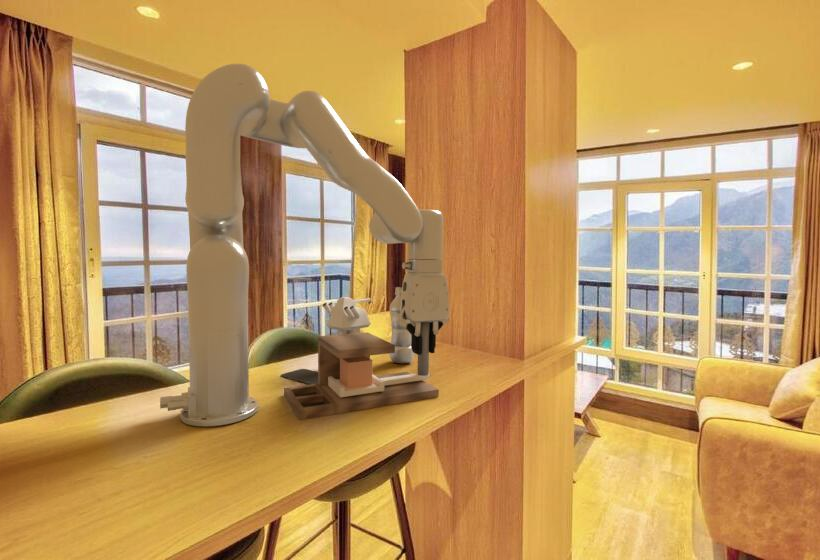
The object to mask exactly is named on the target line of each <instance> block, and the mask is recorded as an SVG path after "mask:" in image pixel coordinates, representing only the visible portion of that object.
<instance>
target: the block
mask: <svg viewBox="0 0 820 560" xmlns="http://www.w3.org/2000/svg"><path fill="white" fill-rule="evenodd" d="M372 374H373V359H371V358H370V359H369V358H368V357H366V356H361V357H351V358H342V359H340V382H341V383H342V384H343V385H345V386H346V387H347V388H355V387H362V386H369V385H372Z"/></svg>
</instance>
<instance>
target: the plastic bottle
mask: <svg viewBox="0 0 820 560" xmlns="http://www.w3.org/2000/svg"><path fill="white" fill-rule="evenodd" d="M394 291H395V292H394V295H395V297H394V299H392V301H391V303H390V305H389V314H390V321H391V335H390V336H391V338H390V343H391V344H394V345H395V353H389V358H390V360H391V362H393V363H396V364H409V363H411V362H412V361H413V359H414V358H415V353H413V351H412V348H411V334H410V333H409V331H408V330H407V329H406V328H404V327H402V326H400V325H398V324H397V320H398V317H399V315H400V303H401V292H402V287H401V286H398V287H397V286H396V287H395V290H394ZM406 322H408V323H410V320H406Z"/></svg>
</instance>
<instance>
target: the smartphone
mask: <svg viewBox="0 0 820 560" xmlns="http://www.w3.org/2000/svg"><path fill="white" fill-rule="evenodd" d="M280 378H283V379H288V380H291V381H294V382H297V383H301V384H303V383H304V384H303V385H306V384H307V385H310V384H318V371H315V370H311V369H307V368H298V369H296V370H295V369H294V370H292V371H288V372H284V373H281V374H280Z"/></svg>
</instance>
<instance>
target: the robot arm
mask: <svg viewBox="0 0 820 560" xmlns="http://www.w3.org/2000/svg"><path fill="white" fill-rule="evenodd" d="M185 115H186V116H185V127H184V130H185V131H184V132H185V134H184V136H185V175H186V176H185V177H186V180H185V181H186V186H185V187H186V190H185V197H184V199H185V200H184V201H185V205H186V208H187V213H188V215H187V216H188V217H187V218H188V234H189V247H190V248H189V249H190V250H189V252H188V255H187V259H186V287H187V309H188V310H187V312H188V313H187V314H188V316H187V317H188V343H189V344H188V347H189V348H188V350H189V351H188V353H189V355H188V356H189V360H188V361H189V386H188V387H187V392H186V391H185V392H181V394H178V395H168V396H160V397H159V407H160V410H161V409H167V411H168V412H169V411H176V410H180V413H179V416H180V417H179V419H180V421H181V422H183V424H186V425H189V426H193V427H217V426H219V427H220V426H224V425H225V426H226V425H230V424H235V423H238V422H241V421H244V420H246V419H248V418H251V416H254V415H255V414H256V412H257V411H258V409H259V402H258V401H257V399H255V398H254V397H251V396H249V395H250V394H249V391H250V389H249V384H250V383H249V376H250V375H249V283H250V279H249V278H250V264H249V257H248V255H247V252H246V250H245V248H244V228H243V227H244V226H243V210H244V205H245V199H244V194H243V193H244V192H243V185H242V173H241V172H242V171H241V137H245V138H248V139H252V140H257V141H261V142H266V143H269V144H276V145H279V146H284V147H289V148H295V149H307V151H308V152H309V153H310V155H311V156H312V158H313V159H314V160H315V161H316V163H318V165H319V166H320V167H321V169H322V170H323V172H324V173H325V174H326V175H327V176H328V178H329V179H330V180H331V182H333V183H334V184H336V185H337V186H338V187H341V188H343V189H344V190H347V191H349V192H351V193H353V194H355V195H356V196H358V197H359V198H361V199H362V200H363V201H364V202H365V203H366V204H367V205H368V206H369V207H370V208H371V210H373V211H374V214H373V215H372V216H371V218H370V220H369V225H368V228H369V232H370V234H371V236H372V238H374V239H375V240H376V241H378V242H379V243H382V244H386V245H387V244H388V245H389V244H390V245H393V244H395V245H396V244H406V243H407V259H406V262H402V264H401V268H402V269H403V270H406V272H407V274H404V277H403V281H402V292H401V303H400V315H399V317H398V320H397V324H398V325H400V326H402V327H404V328H406V329H407V330H408V331H409V333H410V334H411V348H412V351H413V353H414V354H416V355H417V356H418V355H421V354H422V336H420V326H421V322H429V354H435V349H436V346H437V345H436V343H437V342H436V341H437V339H436V337H437V335H438V334H439V331H440V329H442V327H443V326H445V325H446V324H449V322H451V321H450V320H451V319H450V295H449V286H448V279H447V275H446V274H443V260H444V259H443V257H444V255H443V254H444V253H443V251H444V215H443V213H442V212H441V211H439V210H437V209H427V208H426V209H425V208H424V209H423V208H422V209H419V207H418V206H417V204H416V203H415V202H414V200H413V199H412V197H411V196H410V195H409V193H408V191H407V190H406V189H405V187H404V186H403V185H402V183H400V182H399V180H398V179H397V178H395V176H393V175H392V173H390V172H389V171H387V170H386V169H385V168H384V167H382V166H381V165H380V164H379V163H378V162H377V161H375V160H374V159H372V158H371V157H370V156H369V155H368V154H367V153H366V151H365V150H364V149H363V148H362V147H361V145H360V144H359V142H358V141H357V139H356V138H355V137H354V136H353V135H352V133H351V131H350V130H349V129H348V128H347V126H346V124H345V123H344V122H343V120H342V119H341V118H340V116H339V115H338V114H337V112H336V111H335V109H334V108H333V107H332V106H331V104H330V102H328V100H327V99H326V98H325V97H324V96H323V95H322V94H320V93H318V92H316V91H314V90H303V91H301V92H299V93H297V94H295V95H294V96H293V97H291V99H290V100H289V101H288V103H287V102H282V101H278V100H275V99H271V98H270V91H269V87H268V84H267V82H266V80H265V78H264V77H263V76H262V74H261V73H260V72H259V70H257V69H256V68H255V67H252V66H250V65H247V64H244V63H230V64H225V65H222V66H220V67H218V68H216V69H214V70H212V71H210V73H208V74H207V75H206V76H204V77H203V78H202V79H200V82H199V83H198V84H197V85H196V87H195V89H194V90H193V92H192V94H191V97H190V99H189V102H188V106H187V109H186V114H185ZM406 320H410V323H408V322H406Z"/></svg>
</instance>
